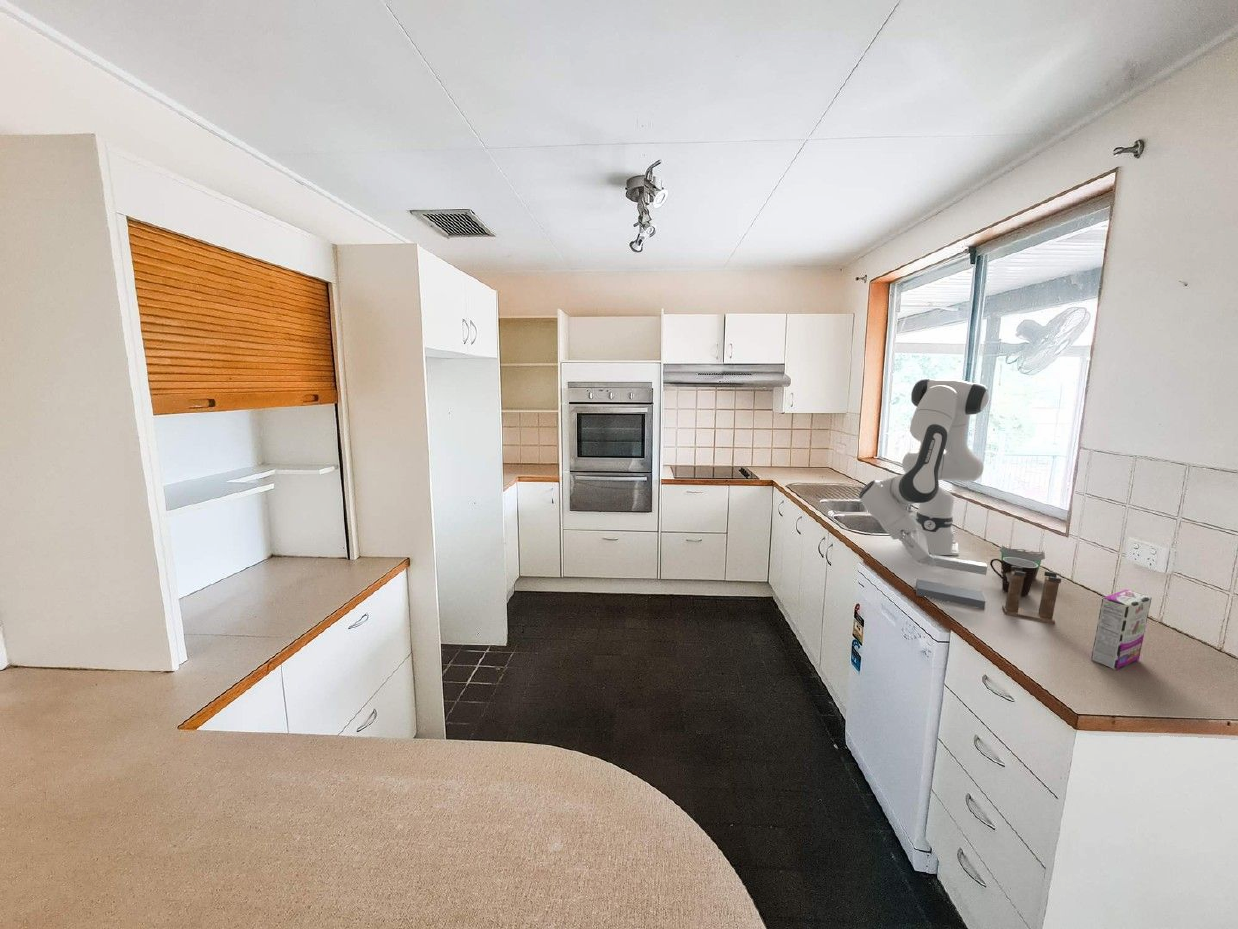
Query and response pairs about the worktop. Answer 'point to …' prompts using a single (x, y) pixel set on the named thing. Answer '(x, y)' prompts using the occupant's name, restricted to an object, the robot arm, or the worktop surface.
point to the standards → (1046, 599)
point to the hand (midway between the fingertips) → (934, 562)
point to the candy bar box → (1120, 629)
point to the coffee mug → (1007, 562)
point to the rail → (959, 564)
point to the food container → (1022, 556)
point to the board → (950, 593)
